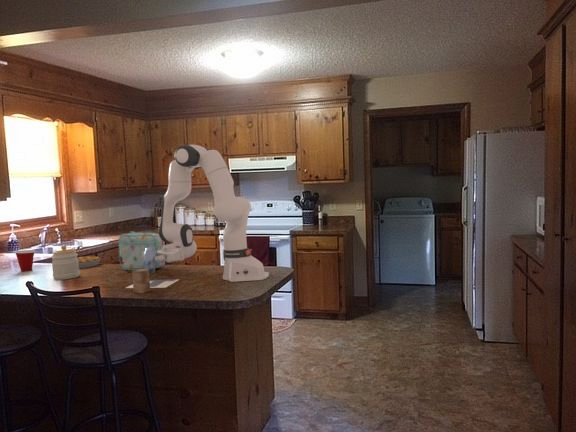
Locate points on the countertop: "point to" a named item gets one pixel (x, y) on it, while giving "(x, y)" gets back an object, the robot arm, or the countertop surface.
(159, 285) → the letter board
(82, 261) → the pie
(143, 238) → the lunch box
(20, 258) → the plastic cup
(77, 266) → the jar
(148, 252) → the canister
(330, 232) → the countertop surface
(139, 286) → the walnut block
